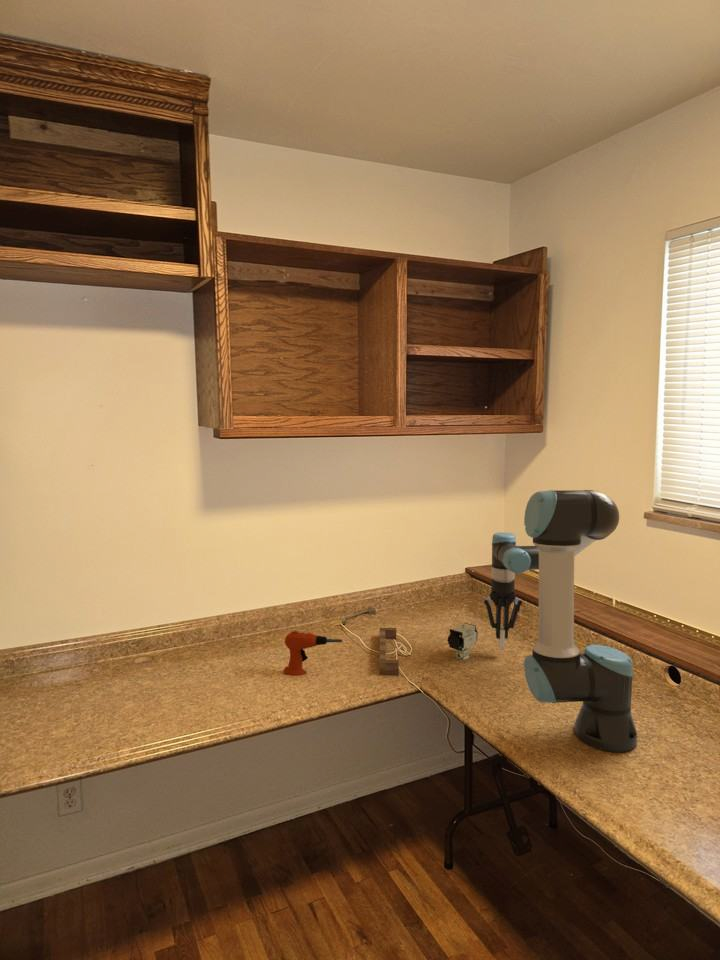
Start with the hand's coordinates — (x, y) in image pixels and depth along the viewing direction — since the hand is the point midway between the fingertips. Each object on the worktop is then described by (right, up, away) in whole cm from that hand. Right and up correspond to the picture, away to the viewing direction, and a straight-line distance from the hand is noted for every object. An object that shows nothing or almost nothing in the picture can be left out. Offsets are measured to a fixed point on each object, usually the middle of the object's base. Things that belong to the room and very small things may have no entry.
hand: (501, 647), depth 200 cm
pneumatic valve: (-13, -4, +1) cm, 13 cm away
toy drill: (-62, -6, -12) cm, 64 cm away
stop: (-38, -4, +2) cm, 38 cm away
